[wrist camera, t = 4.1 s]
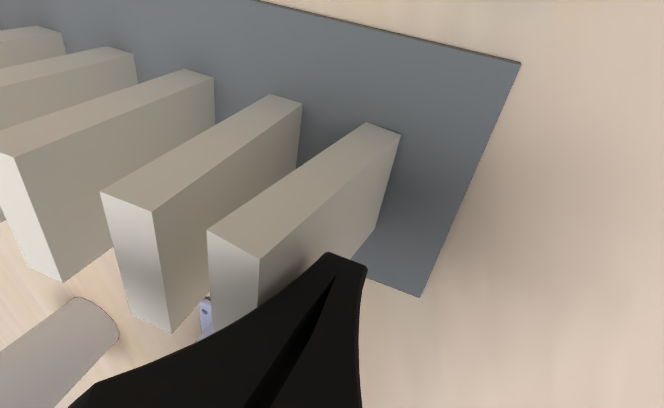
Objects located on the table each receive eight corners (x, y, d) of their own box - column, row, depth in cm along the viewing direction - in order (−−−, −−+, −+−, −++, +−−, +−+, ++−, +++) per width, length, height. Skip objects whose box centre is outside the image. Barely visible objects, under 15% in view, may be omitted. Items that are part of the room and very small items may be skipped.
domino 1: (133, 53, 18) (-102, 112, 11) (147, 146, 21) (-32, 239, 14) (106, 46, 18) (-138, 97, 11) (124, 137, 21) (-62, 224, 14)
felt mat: (421, 292, 20) (419, 298, 20) (-10, 129, 26) (-16, 131, 26) (520, 62, 13) (520, 65, 13) (-98, -85, 19) (-108, -85, 19)
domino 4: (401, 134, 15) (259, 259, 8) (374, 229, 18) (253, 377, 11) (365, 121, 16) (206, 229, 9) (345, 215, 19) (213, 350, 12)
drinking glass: (105, 300, 34) (-16, 403, 26) (133, 350, 37) (34, 454, 29) (55, 288, 36) (-69, 379, 28) (86, 335, 39) (-18, 429, 32)
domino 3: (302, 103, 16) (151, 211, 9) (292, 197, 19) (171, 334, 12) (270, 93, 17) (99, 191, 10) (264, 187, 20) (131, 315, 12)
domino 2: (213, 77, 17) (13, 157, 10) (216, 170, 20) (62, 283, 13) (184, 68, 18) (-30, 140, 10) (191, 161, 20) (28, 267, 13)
